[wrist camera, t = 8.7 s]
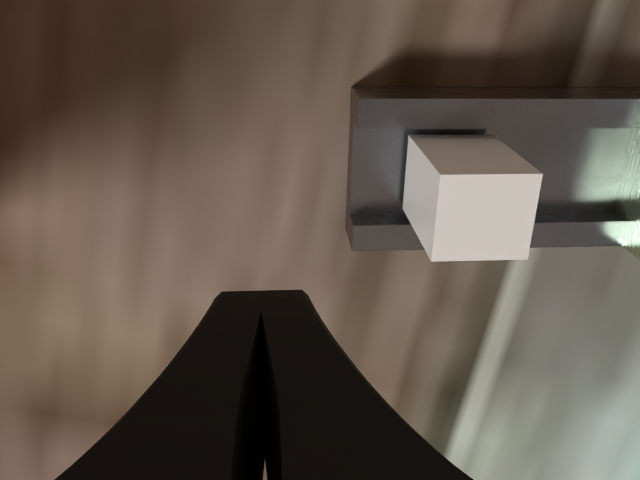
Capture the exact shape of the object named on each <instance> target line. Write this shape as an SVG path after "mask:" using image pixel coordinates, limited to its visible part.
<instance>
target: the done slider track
mask: <svg viewBox="0 0 640 480" xmlns="http://www.w3.org/2000/svg"><path fill="white" fill-rule="evenodd" d="M408 135H494V136H495V137H497V138H498V139H499V140H501V141H502V142H503V143H504V144H506V145H507V146H508V147H509V148H511V149H512V150H513V151H515V152H516V153H517V154H518V155H520V156H521V157H522V158H523V159H525V160H526V161H527V162H529V163H530V164H531V165H532V166H534V167H535V168H536V169H538V170H539V171H540V172H541V173H543V177H542V182H541V188H540V193H539V199H538V204H537V210H536V215H535V221H534V226H533V232H532V237H531V243H530V248H536V247H588V246H623V247H624V248H626V249H627V250H628V251H629V252H631V253H632V254H633V255H634V256H636V257H637V258H638V259H639V260H640V88H608V87H351V107H350V132H349V157H348V182H347V208H346V232H347V235H348V238H349V242H350V245H351V249H352V251H379V250H425V249H424V247H423V245H422V244H421V242H420V240H419V238H418V236H417V234H416V233H415V231H414V229H413V227H412V225H411V223H410V221H409V220H408V218H407V216H406V214H405V212H404V210H403V197H404V185H405V172H406V160H407V148H408Z"/></svg>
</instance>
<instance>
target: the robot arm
mask: <svg viewBox="0 0 640 480" xmlns="http://www.w3.org/2000/svg"><path fill="white" fill-rule="evenodd" d="M264 461H265V462H266V472H267V480H473V479H472V478H470V477H469V476H468V475H466V474H465V473H464V472H462V471H461V470H460V469H458V468H457V467H456V466H454V465H453V464H452V463H451V462H450V461H448V460H447V459H446V458H445V457H444V456H443V455H441V454H440V453H439V452H438V451H437V450H435V449H434V448H433V447H432V446H431V445H430V444H429V443H428V442H427V441H426V440H425V439H423V438H422V437H421V436H420V435H419V434H418V433H417V432H416V431H415V430H414V429H413V428H412V427H411V426H410V425H409V424H407V423H406V422H405V421H404V420H403V419H402V418H401V417H400V416H399V415H398V413H397V412H396V411H395V410H394V409H393V408H392V407H391V406H390V405H389V404H388V403H387V402H386V401H385V400H384V399H383V398H382V396H381V395H380V394H379V393H378V392H377V391H376V390H375V389H374V388H373V387H372V385H371V384H370V383H369V382H368V381H367V380H366V378H365V377H364V376H363V375H362V374H361V372H360V371H359V370H358V369H357V368H356V366H355V365H354V364H353V362H352V361H351V360H350V359H349V357H348V356H347V355H346V353H345V352H344V351H343V350H342V348H341V347H340V346H339V344H338V343H337V342H336V340H335V339H334V337H333V336H332V335H331V333H330V332H329V330H328V329H327V327H326V326H325V324H324V323H323V321H322V319H321V318H320V316H319V315H318V313H317V311H316V310H315V308H314V306H313V304H312V302H311V300H310V298H309V296H308V295H307V294H306V293H305V292H304V291H303V290H270V291H229V292H221V293H220V294H219V295H218V296H217V297H216V298H215V299H214V301H213V303H212V304H211V306H210V308H209V309H208V311H207V312H206V314H205V316H204V317H203V319H202V320H201V322H200V323H199V325H198V326H197V327H196V329H195V330H194V332H193V333H192V335H191V336H190V337H189V339H188V340H187V341H186V343H185V344H184V345H183V347H182V348H181V349H180V350H179V352H178V353H177V354H176V356H175V357H174V358H173V360H172V361H171V362H170V363H169V365H168V366H167V367H166V368H165V370H164V371H163V372H162V373H161V375H160V376H159V377H158V378H157V379H156V380H155V381H154V382H153V384H152V385H151V386H150V387H149V388H148V389H147V390H146V392H145V393H144V394H143V395H142V396H141V397H140V398H139V399H138V401H137V402H136V403H135V404H134V405H133V406H132V407H131V408H130V409H129V411H128V412H127V413H126V414H125V415H124V416H123V417H122V418H121V419H120V420H119V421H118V422H117V423H116V424H115V425H114V426H113V427H112V428H111V429H110V430H109V431H108V432H107V433H106V434H105V435H104V436H103V437H102V438H101V439H100V440H99V441H98V442H97V443H95V444H94V445H93V446H92V447H91V448H90V449H89V450H88V451H87V452H86V453H85V454H84V455H83V456H81V457H80V458H79V459H78V460H77V461H76V462H75V463H74V464H73V465H72V466H70V467H69V468H68V469H67V470H66V471H64V472H63V473H62V474H61V475H60V476H58V477H57V478H56V479H55V480H263V472H264Z"/></svg>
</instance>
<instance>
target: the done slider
mask: <svg viewBox="0 0 640 480" xmlns="http://www.w3.org/2000/svg"><path fill="white" fill-rule="evenodd" d="M542 177H543V173H541V172H540V171H539V170H538V169H536V168H535V167H534V166H532V165H531V164H530V163H529V162H527V161H526V160H525V159H523V158H522V157H521V156H520V155H518V154H517V153H516V152H515V151H513V150H512V149H511V148H509V147H508V146H507V145H506V144H504V143H503V142H502V141H501V140H499V139H498V138H497V137H495V136H494V135H408V148H407V160H406V172H405V185H404V197H403V210H404V212H405V214H406V216H407V218H408V220H409V221H410V223H411V225H412V227H413V229H414V231H415V233H416V234H417V236H418V238H419V240H420V242H421V244H422V245H423V247H424V249H425V251H426V253H427V255H428V256H429V258H430V260H431V261H478V260H526V259H528V254H529V248H530V243H531V237H532V232H533V226H534V221H535V215H536V210H537V204H538V199H539V193H540V188H541V182H542Z"/></svg>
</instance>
